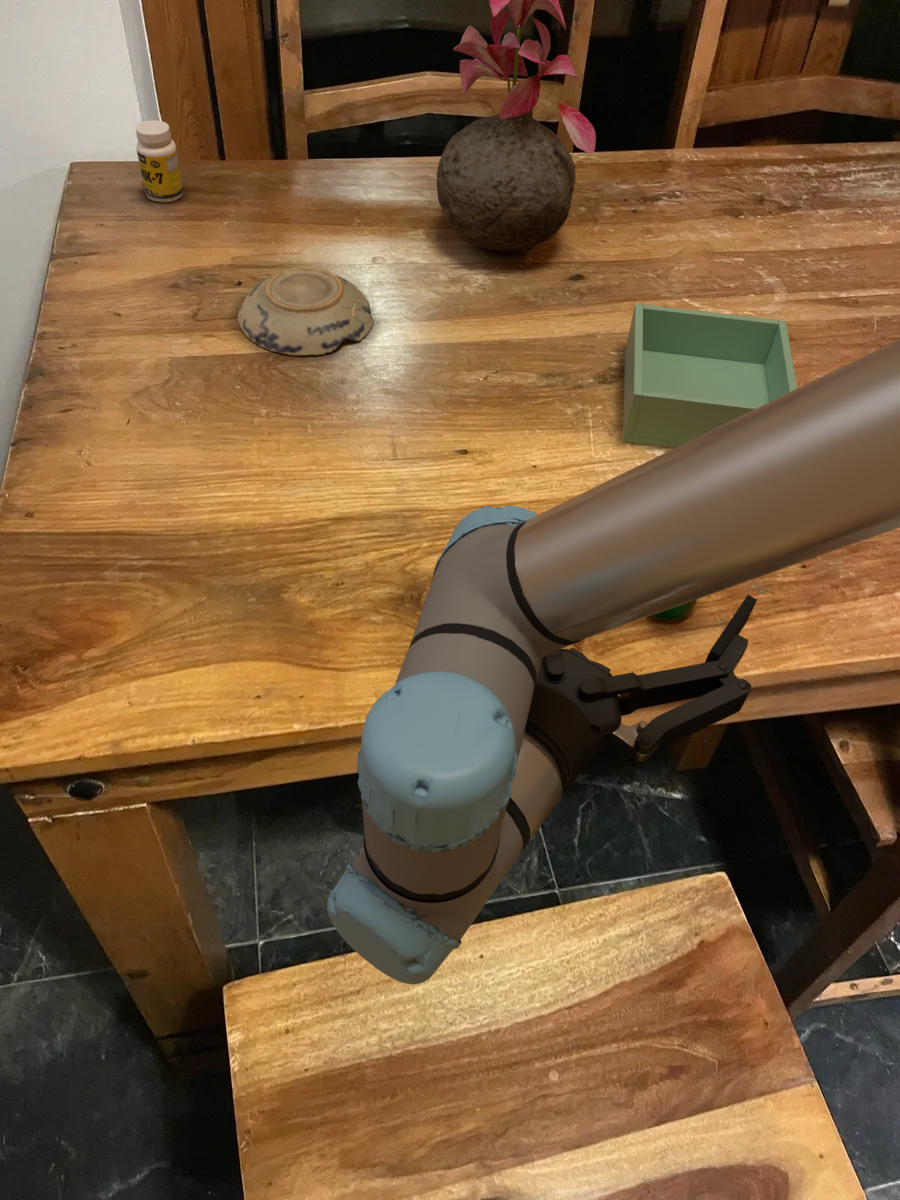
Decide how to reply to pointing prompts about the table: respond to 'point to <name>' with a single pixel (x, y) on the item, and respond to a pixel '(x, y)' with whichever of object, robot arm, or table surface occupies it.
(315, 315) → the decorative bowl
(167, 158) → the supplement bottle
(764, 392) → the green open-top storage box
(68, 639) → the table surface
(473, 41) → the vase
